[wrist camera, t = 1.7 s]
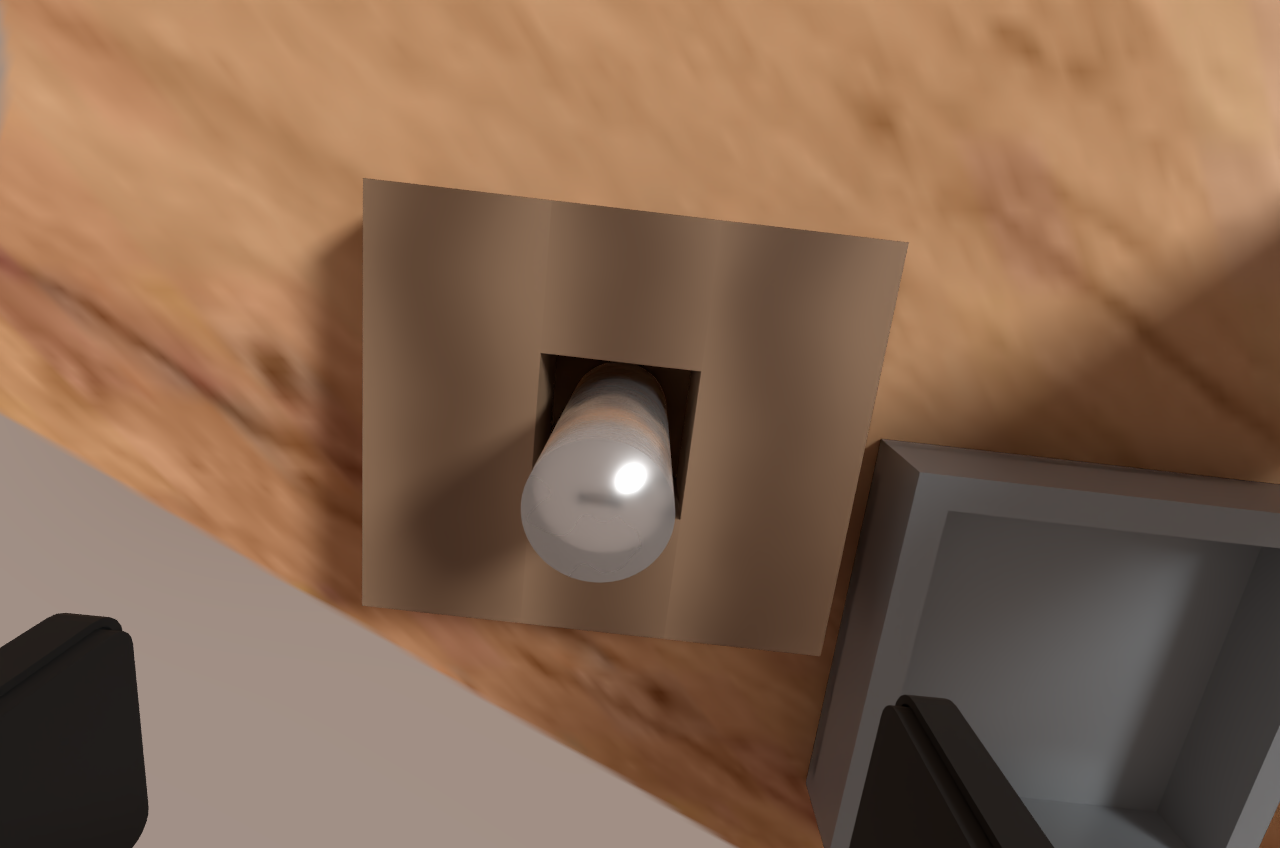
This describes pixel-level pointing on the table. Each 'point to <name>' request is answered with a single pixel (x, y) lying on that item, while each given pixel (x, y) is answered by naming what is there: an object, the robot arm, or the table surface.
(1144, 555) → the tray
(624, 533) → the steel pin
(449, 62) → the table surface
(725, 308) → the wooden block with hole
